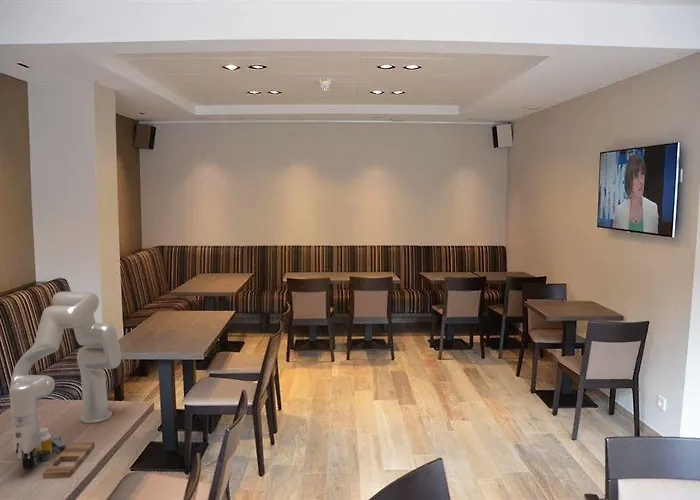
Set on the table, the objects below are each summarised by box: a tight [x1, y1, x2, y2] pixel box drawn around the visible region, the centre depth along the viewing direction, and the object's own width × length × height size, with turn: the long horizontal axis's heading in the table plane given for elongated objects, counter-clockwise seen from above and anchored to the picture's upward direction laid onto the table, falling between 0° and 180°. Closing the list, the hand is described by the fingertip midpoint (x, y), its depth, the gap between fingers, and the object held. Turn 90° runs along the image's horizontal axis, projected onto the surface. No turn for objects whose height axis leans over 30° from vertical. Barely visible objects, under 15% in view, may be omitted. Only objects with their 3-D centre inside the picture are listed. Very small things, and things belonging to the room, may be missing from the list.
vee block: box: [34, 435, 66, 455], centre depth 219 cm, size 9×14×3 cm, turn 93°
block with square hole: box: [42, 441, 95, 479], centre depth 209 cm, size 22×9×2 cm, turn 3°
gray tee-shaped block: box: [32, 450, 51, 469], centre depth 208 cm, size 7×7×3 cm
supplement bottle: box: [35, 427, 53, 456], centre depth 214 cm, size 5×5×10 cm
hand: (28, 467), depth 203 cm, fingers closed
